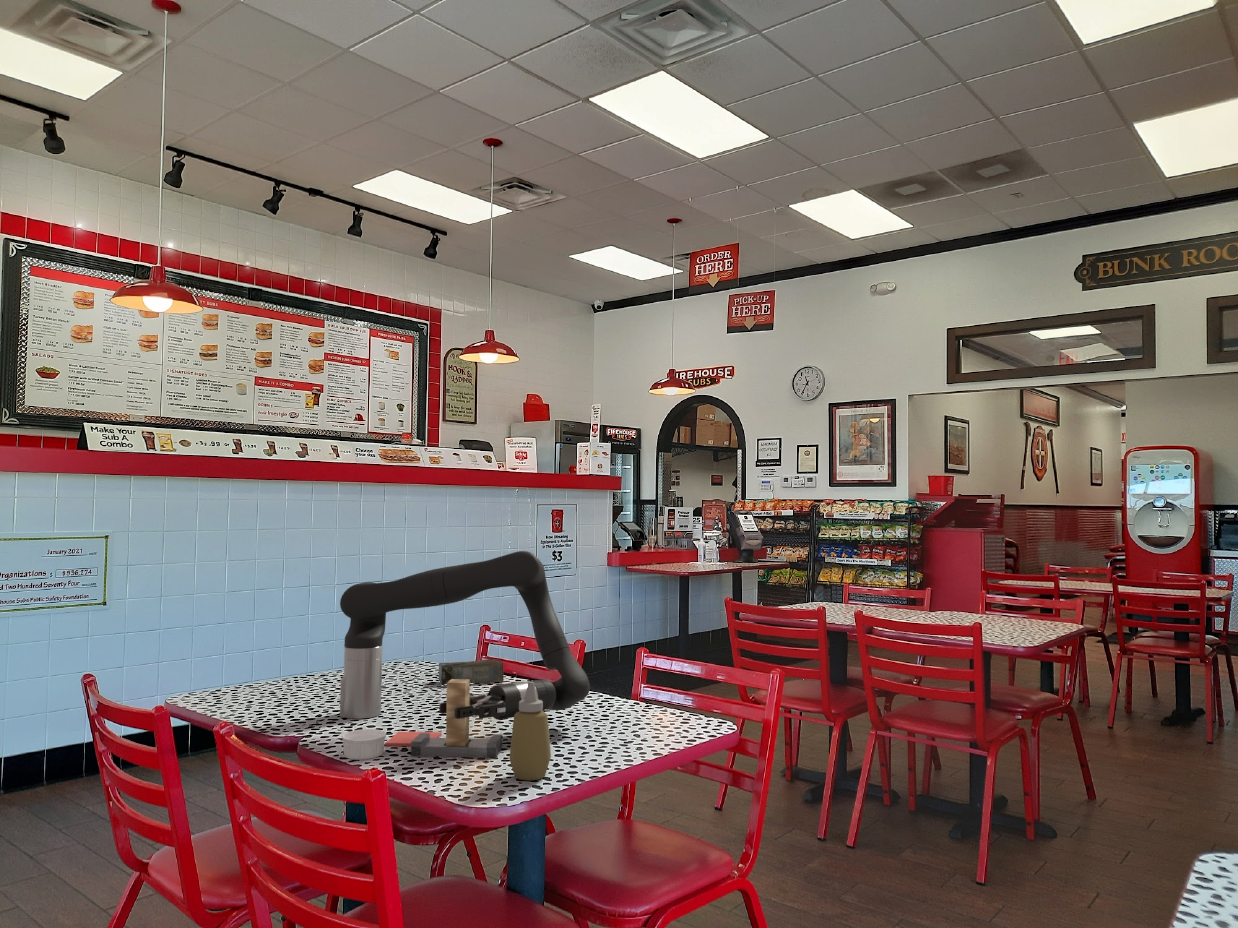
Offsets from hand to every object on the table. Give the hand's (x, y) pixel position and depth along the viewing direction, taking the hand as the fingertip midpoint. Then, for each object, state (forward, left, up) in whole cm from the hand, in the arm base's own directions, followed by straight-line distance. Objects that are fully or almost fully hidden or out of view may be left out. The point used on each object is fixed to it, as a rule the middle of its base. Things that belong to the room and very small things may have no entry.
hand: (448, 710), depth 180 cm
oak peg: (+2, +2, -9) cm, 9 cm away
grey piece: (+2, +2, -9) cm, 9 cm away
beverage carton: (-12, +78, -10) cm, 79 cm away
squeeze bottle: (+20, -14, -9) cm, 26 cm away
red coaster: (-10, +11, -9) cm, 17 cm away
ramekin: (-18, -1, -9) cm, 20 cm away
